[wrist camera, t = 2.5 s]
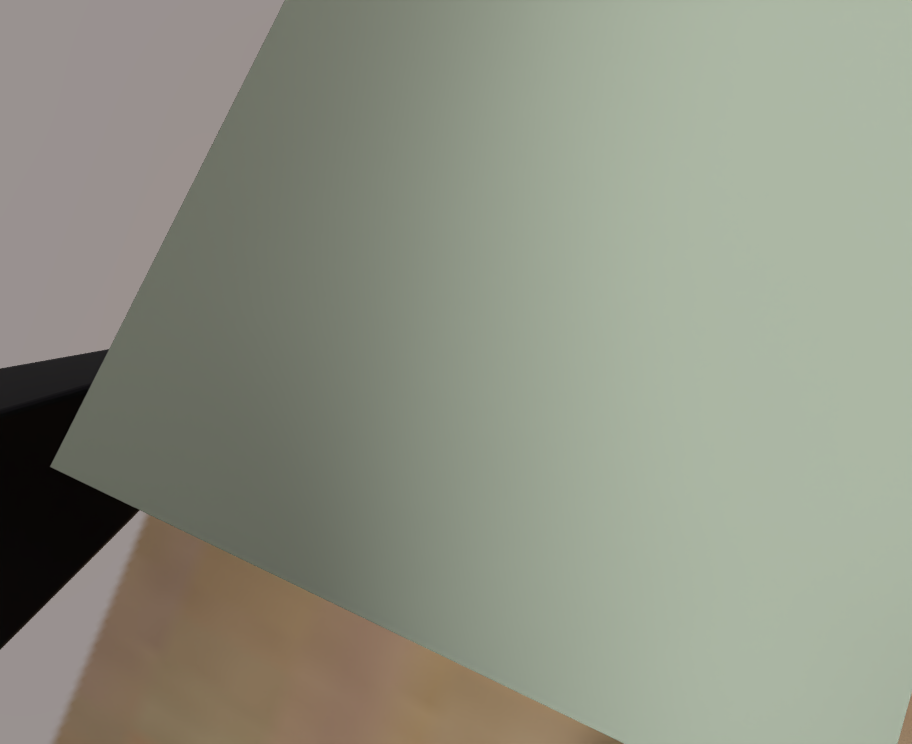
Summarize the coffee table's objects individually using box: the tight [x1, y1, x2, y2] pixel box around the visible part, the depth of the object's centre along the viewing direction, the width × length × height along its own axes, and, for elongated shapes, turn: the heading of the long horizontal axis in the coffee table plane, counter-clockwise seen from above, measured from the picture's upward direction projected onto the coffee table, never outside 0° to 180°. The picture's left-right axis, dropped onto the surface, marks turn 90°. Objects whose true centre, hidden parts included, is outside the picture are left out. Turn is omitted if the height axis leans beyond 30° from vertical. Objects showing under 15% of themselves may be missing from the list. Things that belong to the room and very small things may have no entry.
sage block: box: [50, 0, 912, 744], centre depth 11 cm, size 5×5×13 cm
